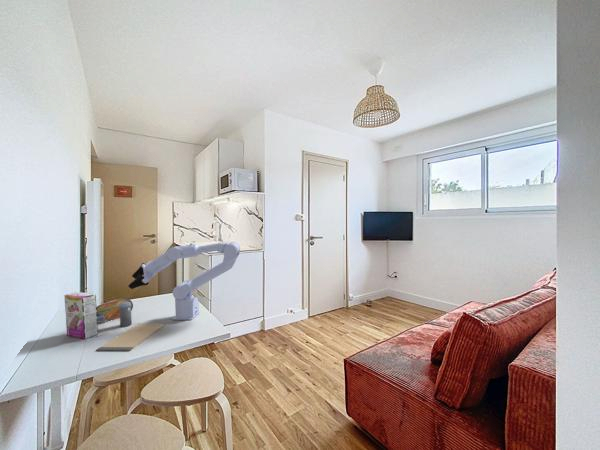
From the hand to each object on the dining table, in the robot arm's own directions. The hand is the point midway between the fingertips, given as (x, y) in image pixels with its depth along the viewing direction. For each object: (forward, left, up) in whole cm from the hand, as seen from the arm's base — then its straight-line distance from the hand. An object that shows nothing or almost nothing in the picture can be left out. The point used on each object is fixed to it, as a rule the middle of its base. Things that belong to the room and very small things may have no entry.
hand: (132, 282), depth 112 cm
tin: (+10, -2, -18) cm, 20 cm away
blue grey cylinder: (-1, +5, -17) cm, 18 cm away
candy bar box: (+10, +14, -17) cm, 25 cm away
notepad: (-12, +15, -17) cm, 26 cm away
